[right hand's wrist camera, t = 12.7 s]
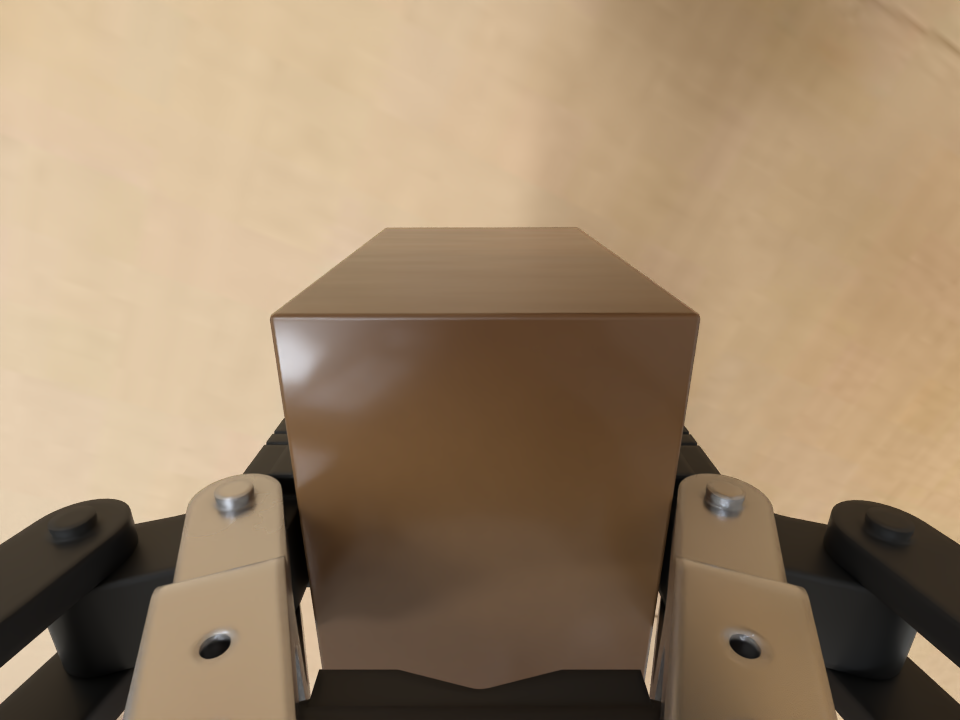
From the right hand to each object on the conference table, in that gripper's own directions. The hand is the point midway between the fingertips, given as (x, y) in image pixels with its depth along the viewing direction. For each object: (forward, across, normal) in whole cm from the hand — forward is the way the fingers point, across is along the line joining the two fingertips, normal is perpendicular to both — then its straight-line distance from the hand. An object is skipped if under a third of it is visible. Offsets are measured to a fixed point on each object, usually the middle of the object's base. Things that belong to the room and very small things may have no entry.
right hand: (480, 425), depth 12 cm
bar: (+4, 0, +8) cm, 9 cm away
